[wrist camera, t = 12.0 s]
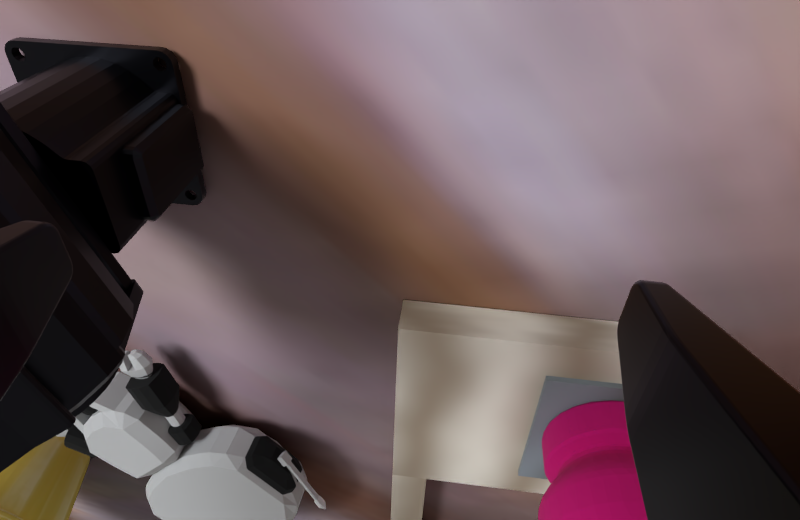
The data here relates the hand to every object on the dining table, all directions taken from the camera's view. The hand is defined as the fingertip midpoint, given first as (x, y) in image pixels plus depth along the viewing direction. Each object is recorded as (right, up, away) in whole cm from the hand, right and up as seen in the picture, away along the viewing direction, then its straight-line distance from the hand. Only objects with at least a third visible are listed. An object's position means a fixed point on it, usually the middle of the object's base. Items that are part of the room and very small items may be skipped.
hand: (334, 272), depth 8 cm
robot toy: (-12, -10, +27) cm, 31 cm away
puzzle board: (+8, -11, +24) cm, 27 cm away
